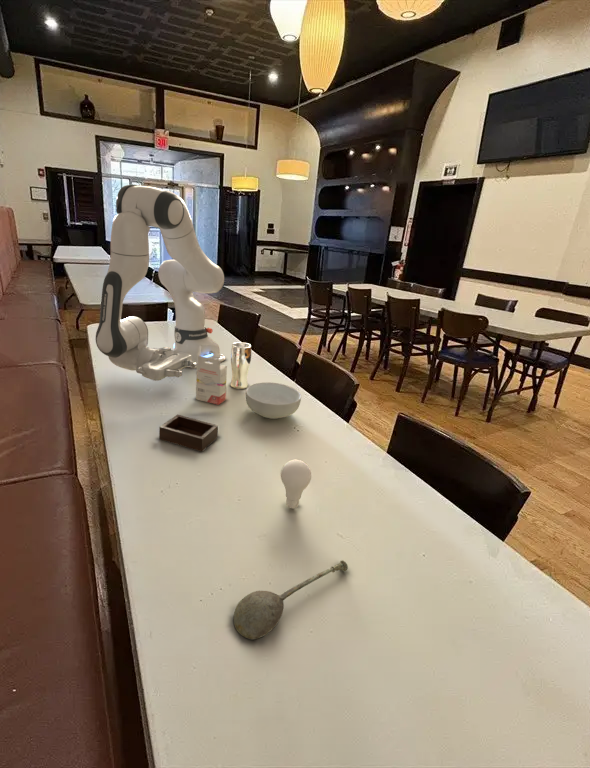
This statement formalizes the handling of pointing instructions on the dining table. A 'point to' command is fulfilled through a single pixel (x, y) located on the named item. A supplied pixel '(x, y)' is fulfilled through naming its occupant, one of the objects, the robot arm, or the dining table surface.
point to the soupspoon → (268, 607)
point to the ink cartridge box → (211, 380)
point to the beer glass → (240, 364)
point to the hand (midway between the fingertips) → (188, 370)
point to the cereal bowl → (272, 399)
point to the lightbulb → (295, 481)
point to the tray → (188, 432)
